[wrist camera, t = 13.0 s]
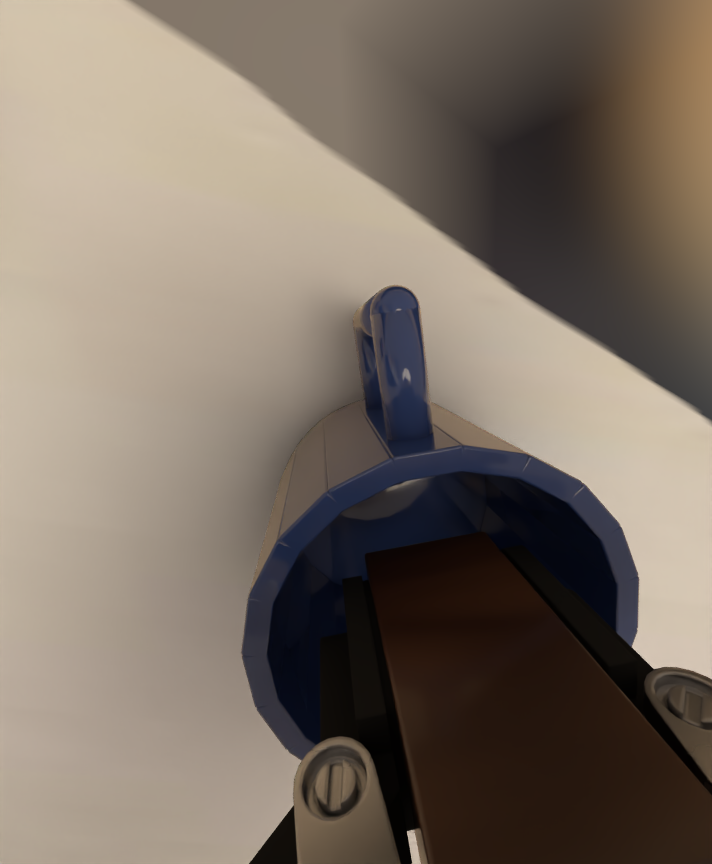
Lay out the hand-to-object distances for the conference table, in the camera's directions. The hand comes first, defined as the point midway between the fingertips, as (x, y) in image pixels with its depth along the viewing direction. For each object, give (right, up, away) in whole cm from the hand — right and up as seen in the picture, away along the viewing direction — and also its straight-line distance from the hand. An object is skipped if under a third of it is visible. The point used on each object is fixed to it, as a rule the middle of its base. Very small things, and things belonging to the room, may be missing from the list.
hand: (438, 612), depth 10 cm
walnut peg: (0, 0, +1) cm, 1 cm away
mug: (-1, +3, +7) cm, 8 cm away
